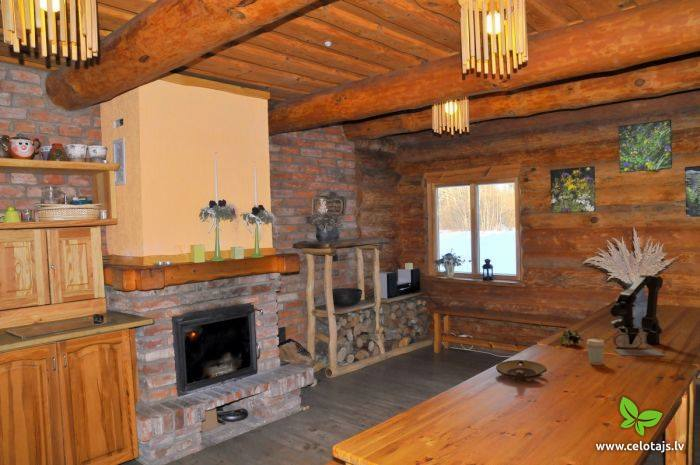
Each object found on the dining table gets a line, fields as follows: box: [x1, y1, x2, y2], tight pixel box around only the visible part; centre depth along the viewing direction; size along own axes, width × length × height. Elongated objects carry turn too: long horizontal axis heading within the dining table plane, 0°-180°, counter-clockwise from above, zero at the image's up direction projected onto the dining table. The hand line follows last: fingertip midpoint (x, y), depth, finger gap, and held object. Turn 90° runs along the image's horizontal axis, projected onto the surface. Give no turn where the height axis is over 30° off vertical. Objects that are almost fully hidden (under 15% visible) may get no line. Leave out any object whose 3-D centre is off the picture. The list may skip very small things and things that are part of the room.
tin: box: [612, 332, 643, 349], centre depth 296 cm, size 15×3×8 cm, turn 84°
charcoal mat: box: [612, 348, 666, 357], centre depth 283 cm, size 22×12×1 cm, turn 82°
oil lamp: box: [495, 359, 548, 383], centre depth 242 cm, size 22×30×8 cm
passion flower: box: [557, 328, 585, 346], centre depth 304 cm, size 11×11×12 cm
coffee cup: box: [586, 338, 606, 366], centre depth 264 cm, size 8×8×12 cm
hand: (627, 342), depth 296 cm, fingers open, 9 cm apart
